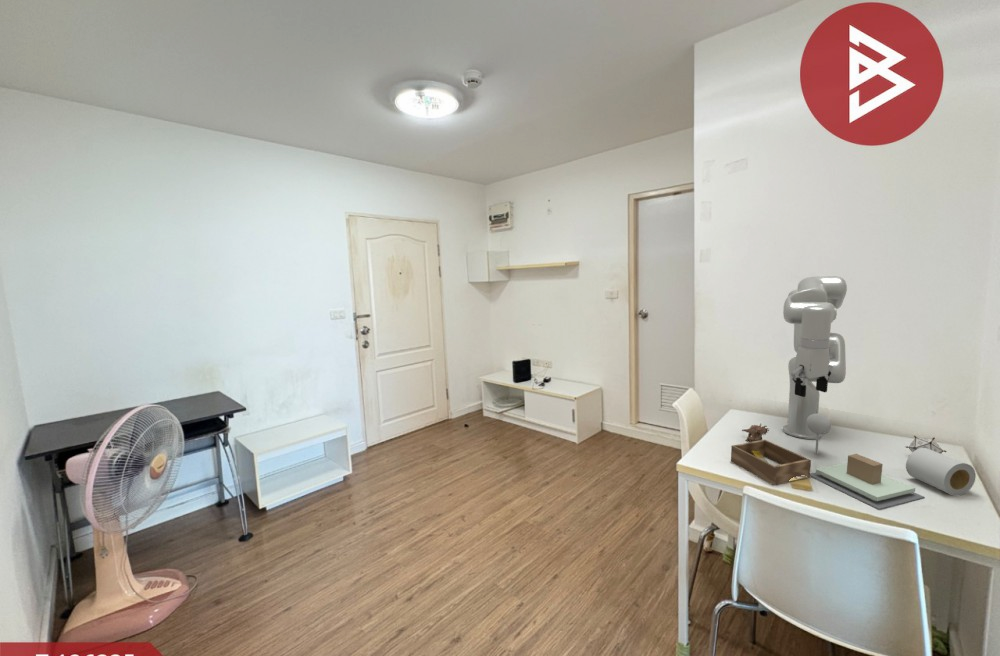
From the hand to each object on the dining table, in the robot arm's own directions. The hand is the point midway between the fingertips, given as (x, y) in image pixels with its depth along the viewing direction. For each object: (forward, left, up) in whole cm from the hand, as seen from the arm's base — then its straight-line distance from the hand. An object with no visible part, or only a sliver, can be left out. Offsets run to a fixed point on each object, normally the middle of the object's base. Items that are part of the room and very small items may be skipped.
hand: (810, 393), depth 132 cm
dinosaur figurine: (+1, -19, -26) cm, 32 cm away
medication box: (+16, -3, -26) cm, 31 cm away
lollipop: (-11, -5, -26) cm, 28 cm away
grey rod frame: (-39, +10, -26) cm, 48 cm away
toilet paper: (-23, +22, -26) cm, 41 cm away
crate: (+14, -2, -25) cm, 29 cm away
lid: (-3, +15, -24) cm, 29 cm away
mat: (-3, +15, -25) cm, 30 cm away
